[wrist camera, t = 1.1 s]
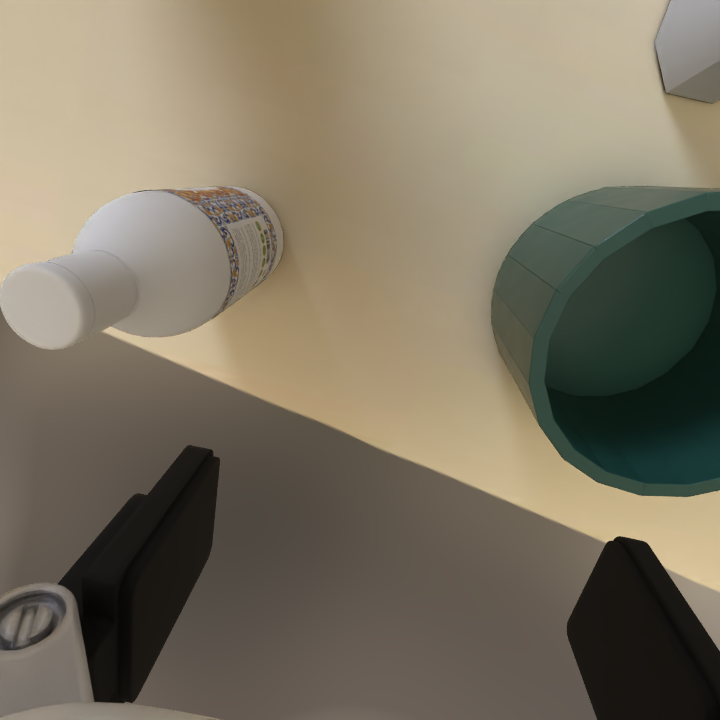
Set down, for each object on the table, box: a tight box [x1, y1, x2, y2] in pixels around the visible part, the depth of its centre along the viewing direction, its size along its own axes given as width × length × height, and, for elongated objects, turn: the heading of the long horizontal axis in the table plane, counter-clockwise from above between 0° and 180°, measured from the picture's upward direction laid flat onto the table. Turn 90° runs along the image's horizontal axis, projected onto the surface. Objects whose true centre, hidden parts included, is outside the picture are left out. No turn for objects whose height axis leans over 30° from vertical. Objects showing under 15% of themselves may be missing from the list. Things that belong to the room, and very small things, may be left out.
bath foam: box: [0, 186, 283, 350], centre depth 25 cm, size 7×7×20 cm
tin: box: [491, 186, 720, 497], centre depth 28 cm, size 16×16×12 cm
